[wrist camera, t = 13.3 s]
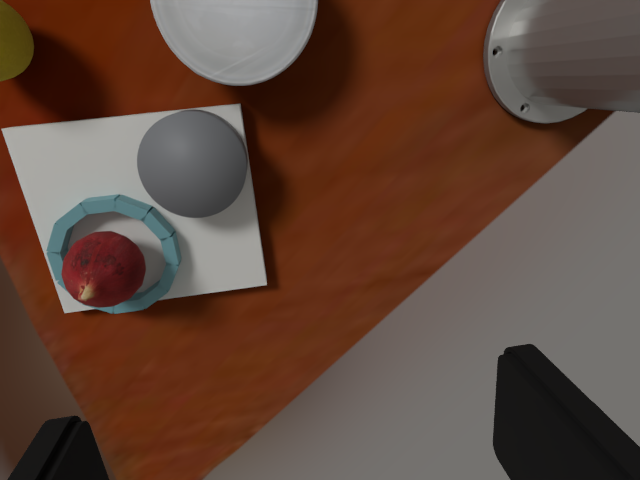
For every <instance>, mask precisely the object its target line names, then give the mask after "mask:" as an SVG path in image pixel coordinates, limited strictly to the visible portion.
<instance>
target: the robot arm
mask: <svg viewBox="0 0 640 480" xmlns="http://www.w3.org/2000/svg"><path fill="white" fill-rule="evenodd" d="M493 49H494V50H495V54H494V55H493ZM483 60H484V71H485V75H486V79H487V82H488V86H489V88H490V90H491V92H492V94H493V96H494V97H495V99H496V100H497V101H498V102H499V104H500V105H501V106H502V107H503V108H504V109H505V110H507V111H508V112H509V113H510V114H512V115H514V116H516V117H518V118H520V119H522V120H526V121H531V122H537V123H554V122H561V121H564V120H567V119H570V118H573V117H575V116H576V115H578V114H580V113H582V112H584V111H585V110H587V109H588V108H590V109H602V110H614V111H626V112H638V113H640V0H501V1H500V3H499V5H498V6H497V8H496V9H495V11H494V14H493V16H492V18H491V21H490V23H489V26H488V29H487V33H486V37H485V42H484V54H483ZM521 106H522V108H521ZM520 108H521V110H520ZM493 446H494V450H495V454H496V456H497V458H498V460H499V462H500V463H501V465H502V467H503V468H504V470H505V471H506V473H507V475H508V476H509V478H510V479H511V480H640V447H639V446H638V445H637V444H636V443H635V442H634V441H633V440H632V439H631V438H630V437H629V436H628V435H627V434H626V433H624V432H623V431H622V430H621V429H620V428H619V427H618V426H617V425H616V424H615V423H614V422H613V421H612V420H611V419H610V418H609V417H608V416H607V415H606V414H605V413H604V412H603V411H602V410H601V409H600V408H599V407H598V406H597V405H596V404H595V403H593V402H592V401H591V400H590V399H589V398H588V397H587V396H586V395H585V394H584V393H583V392H582V391H581V390H580V389H579V388H578V387H577V386H576V385H575V384H573V382H571V381H570V380H569V379H568V378H567V377H566V376H565V375H564V374H563V373H562V372H561V371H560V370H559V369H558V368H557V367H556V366H555V365H554V364H553V363H552V362H551V361H550V360H549V359H548V358H547V357H546V356H545V355H544V354H543V353H542V352H541V351H540V350H538V349H537V348H536V347H535V346H534V345H532V344H526V345H520V346H513V347H508V348H506V349H505V351H504V354H503V355H500V356H499V357H498V366H497V382H496V399H495V415H494V433H493ZM8 480H109V478H108V475H107V472H106V469H105V467H104V464H103V461H102V458H101V455H100V453H99V450H98V447H97V444H96V441H95V438H94V436H93V433H92V430H91V427H90V425H89V423H88V422H87V421H83V422H82V421H81V419H80V418H79V417H78V416H70V417H64V418H57V419H51V420H48V421H46V422H45V423H44V424H43V425H42V427H41V428H40V430H39V431H38V433H37V434H36V436H35V438H34V439H33V441H32V442H31V444H30V445H29V447H28V448H27V450H26V452H25V453H24V455H23V457H22V458H21V459H20V461H19V463H18V464H17V466H16V467H15V469H14V471H13V472H12V473H11V475H10V477H9V478H8Z"/></svg>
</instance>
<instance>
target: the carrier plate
mask: <svg viewBox="0 0 640 480" xmlns="http://www.w3.org/2000/svg"><path fill="white" fill-rule="evenodd" d="M2 132H3V135H4V138H5V141H6V144H7V147H8V150H9V152H10V155H11V158H12V161H13V164H14V167H15V170H16V173H17V176H18V179H19V182H20V185H21V188H22V190H23V193H24V196H25V199H26V202H27V205H28V208H29V211H30V214H31V217H32V220H33V223H34V225H35V228H36V231H37V234H38V237H39V240H40V243H41V246H42V249H43V252H44V255H45V258H46V261H47V263H48V266H49V269H50V272H51V275H52V278H53V281H54V284H55V287H56V290H57V293H58V296H59V299H60V301H61V304H62V307H63V310H64V313H69V312H77V311H84V310H91V309H98V310H102V311H105V312H108V313H111V314H112V313H113V312H114V314H117V313H124V312H131V311H138V310H144V308H145V309H146V308H148V307H149V306H150V305H152V304H153V303H154V302H156V301H157V300H163V299H170V298H177V297H185V296H192V295H199V294H206V293H214V292H221V291H228V290H235V289H242V288H250V287H257V286H264V285H267V276H266V269H265V263H264V256H263V249H262V243H261V236H260V230H259V223H258V216H257V210H256V203H255V196H254V190H253V183H252V176H251V170H250V163H249V156H248V150H247V143H246V137H245V130H244V123H243V117H242V110H241V103H240V104H231V105H221V106H211V107H202V108H192V109H182V110H173V111H163V112H153V113H144V114H134V115H124V116H115V117H105V118H95V119H86V120H76V121H66V122H57V123H47V124H37V125H28V126H18V127H10V128H4V129H2ZM101 231H112V232H115V233H118V234H121V235H124V236H126V237H128V238H129V239H130V240H131V241H132V242H134V243H135V244H136V245H137V246H138V247H139V249H140V250H141V252H142V254H143V255H144V258H145V265H146V272H145V276H144V280H143V284H142V286H141V287H140V288H139V289H138V290H137V291H136V293H135V294H134V295H133V296H132V297H131V298H130V299H128V300H126V301H124V302H122V303H120V304H118V305H115V306H112V307H102V308H98V307H93V306H88V305H84V304H82V303H81V302H79V301H77V300H75V299H73V297H72V296H71V295H70V293H69V292H68V291H67V290H66V288H65V285H64V282H63V279H62V275H61V273H62V266H63V260H64V257H65V256H66V254H67V253H68V251H69V250H70V248H71V247H72V245H73V244H74V243H75V242H76V241H78V240H79V239H81V238H83V237H85V236H87V235H89V234H91V233H93V232H101Z"/></svg>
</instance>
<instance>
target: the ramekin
mask: <svg viewBox="0 0 640 480" xmlns="http://www.w3.org/2000/svg"><path fill="white" fill-rule="evenodd" d="M150 2H151V7H152V11H153V14H154V17H155V20H156V23H157V25H158V28H159V30H160V32H161V34H162V36H163V38H164V40H165V41H166V43H167V44H168V46H169V47H170V49H171V50H172V51H173V52H174V54H175V55H176V56H177V57H178V58H179V59H180V60H181V61H182V62H183V63H184V64H185V65H186V66H188V67H189V68H190V69H191V70H193V71H194V72H195V73H196V74H198V75H200V76H202V77H204V78H207V79H209V80H211V81H214V82H217V83H221V84H225V85H232V86H246V85H253V84H258V83H261V82H264V81H267V80H269V79H271V78H273V77H275V76H277V75H278V74H280V73H281V72H283V71H284V70H285V69H287V68H288V67H289V66H290V65H291V64H292V63H293V62H294V61H295V60H296V59H297V58H298V56H299V55H300V54H301V52H302V51H303V49H304V48H305V46H306V44H307V42H308V40H309V38H310V36H311V33H312V31H313V27H314V24H315V20H316V15H317V7H318V0H150Z"/></svg>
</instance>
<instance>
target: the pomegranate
mask: <svg viewBox="0 0 640 480" xmlns="http://www.w3.org/2000/svg"><path fill="white" fill-rule="evenodd" d="M145 272H146V265H145V258H144V255H143V254H142V252H141V250H140V249H139V247H138V246H137V245H136V244H135V243H134V242H132V241H131V240H130V239H129V238H128V237H126V236H124V235H121V234H118V233H115V232H112V231H101V232H93V233H91V234H89V235H87V236H85V237H83V238H81V239H79V240H78V241H76V242H75V243H74V244H73V245H72V247H71V248H70V250H69V251H68V253H67V254H66V256H65V257H64V260H63V266H62V273H61V275H62V279H63V282H64V285H65V288H66V290H67V291H68V292H69V293H70V295H71V296H72V297H73V299H75V300H77V301H79V302H81V303H82V304H84V305H88V306H93V307H98V308H102V307H112V306H115V305H118V304H120V303H122V302H124V301H126V300H128V299H130V298H131V297H132V296H133V295H134V294H135V293H136V291H137V290H138V289H139V288H140V287H141V286H142V284H143V280H144V276H145Z"/></svg>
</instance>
